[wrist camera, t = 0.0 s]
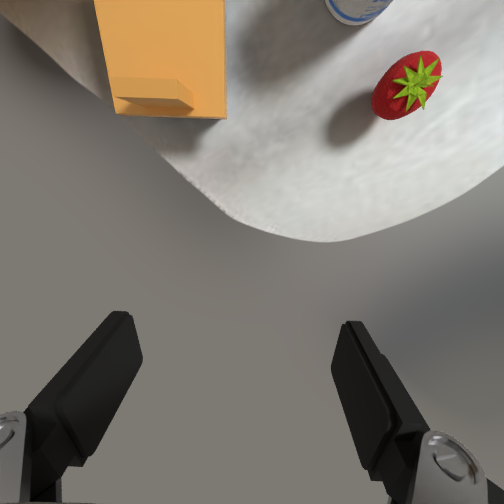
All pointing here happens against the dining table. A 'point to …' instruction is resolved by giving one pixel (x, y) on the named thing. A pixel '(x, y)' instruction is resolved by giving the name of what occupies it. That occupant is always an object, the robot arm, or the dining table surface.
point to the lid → (165, 56)
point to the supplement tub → (356, 10)
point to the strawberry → (406, 85)
